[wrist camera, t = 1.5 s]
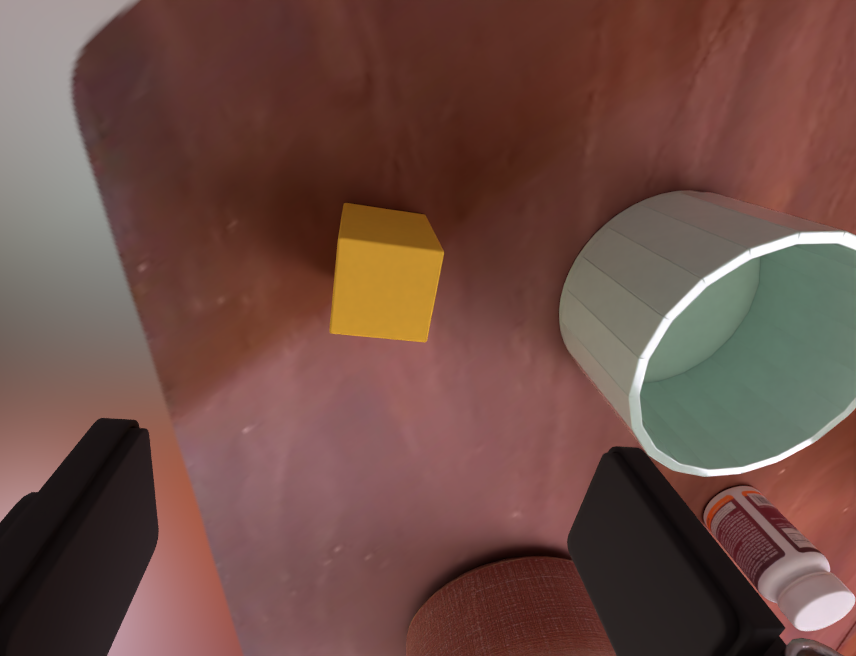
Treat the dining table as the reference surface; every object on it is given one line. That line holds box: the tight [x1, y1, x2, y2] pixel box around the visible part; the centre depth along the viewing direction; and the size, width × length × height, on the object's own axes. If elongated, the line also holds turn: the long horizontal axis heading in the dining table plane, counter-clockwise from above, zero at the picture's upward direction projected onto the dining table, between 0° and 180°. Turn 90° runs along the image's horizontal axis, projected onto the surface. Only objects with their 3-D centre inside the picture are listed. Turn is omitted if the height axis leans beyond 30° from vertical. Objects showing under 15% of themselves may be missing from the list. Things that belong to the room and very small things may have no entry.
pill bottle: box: [703, 486, 855, 631], centre depth 33 cm, size 5×5×8 cm
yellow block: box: [330, 203, 444, 342], centre depth 21 cm, size 4×4×6 cm
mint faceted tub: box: [559, 190, 856, 477], centre depth 23 cm, size 12×12×8 cm
